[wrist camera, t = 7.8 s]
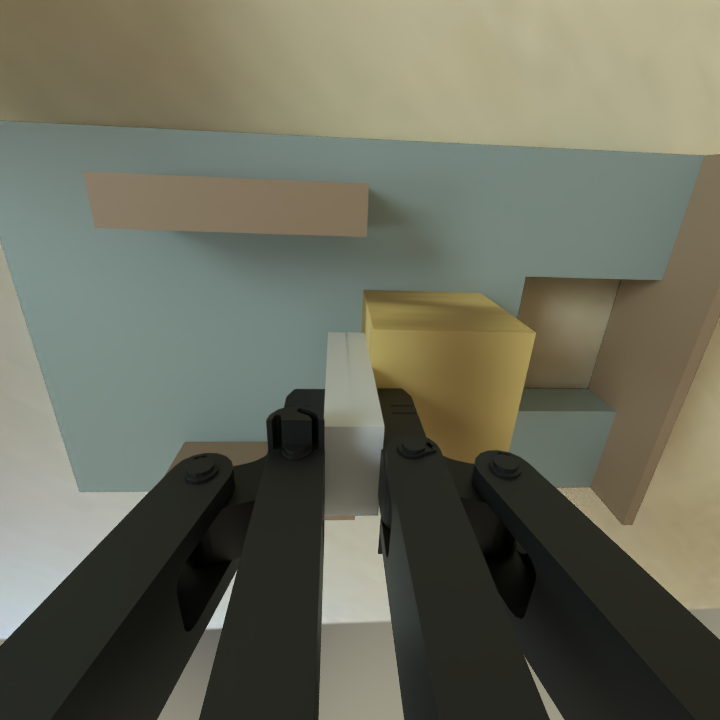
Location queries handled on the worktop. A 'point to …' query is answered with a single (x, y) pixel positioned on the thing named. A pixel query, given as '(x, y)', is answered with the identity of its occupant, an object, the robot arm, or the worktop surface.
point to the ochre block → (451, 364)
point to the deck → (339, 282)
